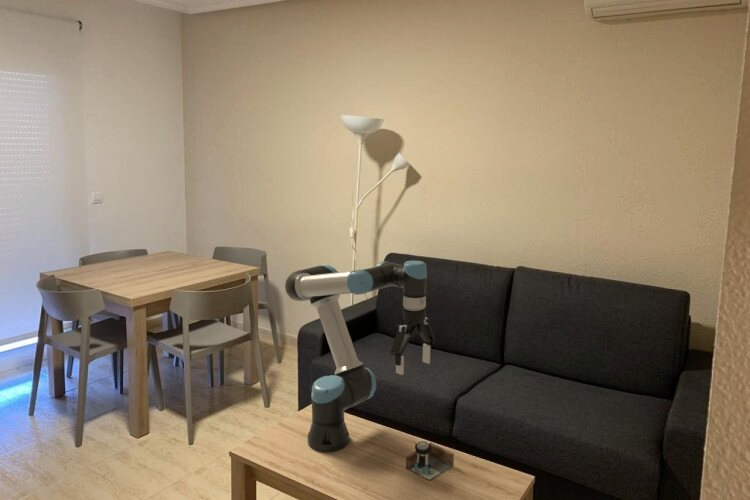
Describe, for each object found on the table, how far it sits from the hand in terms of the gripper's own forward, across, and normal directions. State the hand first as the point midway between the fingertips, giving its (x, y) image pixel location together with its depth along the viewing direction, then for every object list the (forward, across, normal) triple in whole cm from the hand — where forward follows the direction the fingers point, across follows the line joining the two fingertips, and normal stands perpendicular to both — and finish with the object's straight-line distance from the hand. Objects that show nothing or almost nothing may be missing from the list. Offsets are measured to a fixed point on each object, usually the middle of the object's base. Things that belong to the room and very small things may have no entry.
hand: (413, 368), depth 201 cm
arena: (+33, -1, -9) cm, 34 cm away
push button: (+32, -5, -10) cm, 34 cm away
